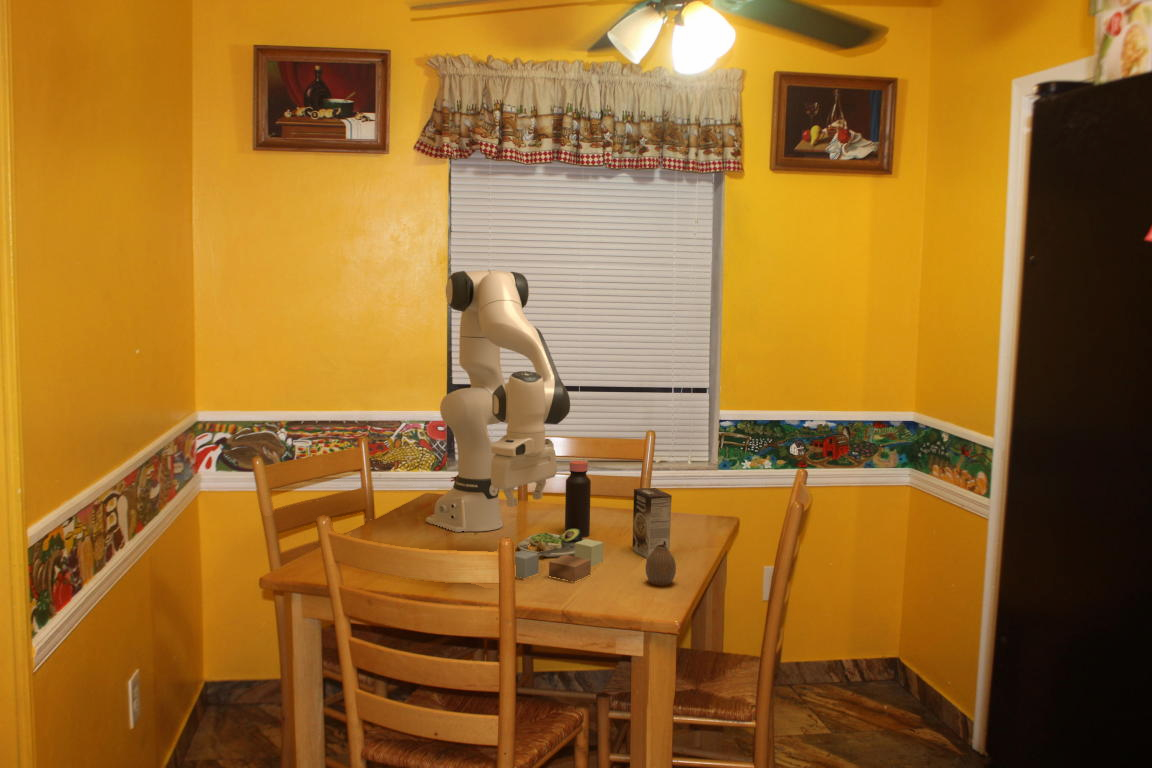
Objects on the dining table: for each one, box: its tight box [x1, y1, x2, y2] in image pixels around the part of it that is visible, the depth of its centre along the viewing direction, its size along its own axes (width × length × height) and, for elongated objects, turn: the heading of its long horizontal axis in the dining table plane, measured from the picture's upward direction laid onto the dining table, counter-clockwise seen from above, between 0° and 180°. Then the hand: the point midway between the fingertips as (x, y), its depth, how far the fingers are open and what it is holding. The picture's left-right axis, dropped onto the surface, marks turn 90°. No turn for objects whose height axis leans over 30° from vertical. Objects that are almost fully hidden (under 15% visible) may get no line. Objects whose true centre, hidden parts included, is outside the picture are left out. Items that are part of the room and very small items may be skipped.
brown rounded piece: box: [645, 544, 677, 587], centre depth 212 cm, size 7×7×9 cm
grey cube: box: [514, 550, 540, 579], centre depth 216 cm, size 5×5×5 cm
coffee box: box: [631, 487, 673, 560], centre depth 235 cm, size 9×6×16 cm
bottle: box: [564, 460, 592, 538], centre depth 252 cm, size 7×7×20 cm
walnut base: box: [548, 555, 592, 582], centre depth 216 cm, size 7×7×4 cm
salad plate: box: [517, 529, 586, 558], centre depth 238 cm, size 19×18×5 cm
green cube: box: [574, 538, 604, 567], centre depth 228 cm, size 5×5×5 cm
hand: (524, 502), depth 215 cm, fingers open, 8 cm apart
